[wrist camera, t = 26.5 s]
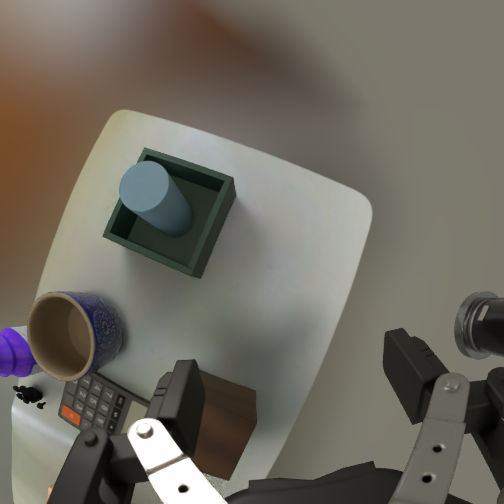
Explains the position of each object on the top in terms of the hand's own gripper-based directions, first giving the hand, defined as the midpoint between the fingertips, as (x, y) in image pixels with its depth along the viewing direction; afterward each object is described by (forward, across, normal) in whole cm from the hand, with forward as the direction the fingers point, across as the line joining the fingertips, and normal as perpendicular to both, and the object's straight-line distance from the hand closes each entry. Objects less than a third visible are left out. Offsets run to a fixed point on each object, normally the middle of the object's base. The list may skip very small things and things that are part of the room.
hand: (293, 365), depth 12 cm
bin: (+32, +12, -2) cm, 34 cm away
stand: (+22, +11, +22) cm, 33 cm away
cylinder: (+31, +12, -3) cm, 33 cm away
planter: (+26, +26, +10) cm, 38 cm away
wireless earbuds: (+21, +42, +20) cm, 51 cm away
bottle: (+24, +36, +12) cm, 45 cm away
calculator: (+20, +28, +22) cm, 42 cm away
